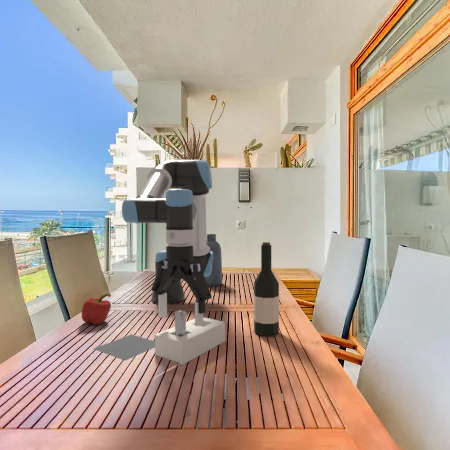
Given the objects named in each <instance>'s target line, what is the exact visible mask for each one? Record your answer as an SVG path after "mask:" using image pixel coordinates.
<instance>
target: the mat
mask: <svg viewBox="0 0 450 450" xmlns="http://www.w3.org/2000/svg"><path fill="white" fill-rule="evenodd" d="M152 349H155V340H153V339H148V338H146V337H141V336H138V335H135V334H129V335H127V336H124V337H121V338H119V339H115V340H112V341H110V342H108V343H105V344H104V343H103V344H102V345H100V346H96V347H94V348H93V350H95V351H99V352H101V353H103V354H107V355H110V356H112V357H115V358H118V359H120V360H123V361H127V360H129V359H131V358H133V357H136V356H139V355H141V354H143V353H144V352H147V351H149V350H152Z"/></svg>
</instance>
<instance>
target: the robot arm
mask: <svg viewBox="0 0 450 450" xmlns="http://www.w3.org/2000/svg"><path fill="white" fill-rule="evenodd" d="M212 179H213V178H212V172H211V166H210V163H209V162H208V161H207V160H205V159H204V160H202V159H201V160H200V159H178V160H177V159H171V160H166V161H163V162H161V163H160V164H157V165H156V166H154V167H153V168H152V169H151V170H150V171H149V172H148V174H147V181H146V183H144V185H143V186H142V188H141V190H140V192H138V194H137V196H136V197H135V198H134V197H131V198H126V199H124V200H123V202H122V204H121V215H122V219H123V220H124V222H125V223H129V224H153V223H154V224H165V235H166V236H165V239H166V241H165V242H166V244H167V245H166V247H165V249H163V250H159V251H157V252H156V253H155V258H154V259H155V260H154V264H155V265H154V267H155V273H154V274H155V278H154V280H153V284H152V286H151V291H152V294H151V302H154V303H157V305H158V318H160V319H161V318H163V317H166V316H168V304H174V303H179V302H183V301H184V300H185V298H186V294H185V291H184V288H183V284H182V280H183V281H184V282H186V284H187V285H188V287H189V289H190V291H191V292H192V294H193V295H194V298H195V299H196V301H194V319H195V326H199V325H202V324H203V317H204V314H205V312H206V301H208V300H210V299H212V297H213V296H212V293H211V291H210V288H209V286H208V285H207V282H206V280H205V277H207V276H210V274H211V271H212V263H213V252H212V251H210V247H209V246H207V209H206V208H207V206H206V204H207V203H206V199H207V198H206V196H207V195H208V194H209V192H210V189H213V180H212ZM164 194H165V198H163V196H164Z"/></svg>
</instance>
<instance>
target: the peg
mask: <svg viewBox="0 0 450 450" xmlns="http://www.w3.org/2000/svg"><path fill="white" fill-rule="evenodd" d="M186 316H187V312H186V311H185V310H183V309H182V310H181V309H180V310H176V311H174V327H175V335H176V336H179V337H182V336H184V335H186V322H187V319H186V318H187V317H186Z"/></svg>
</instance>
